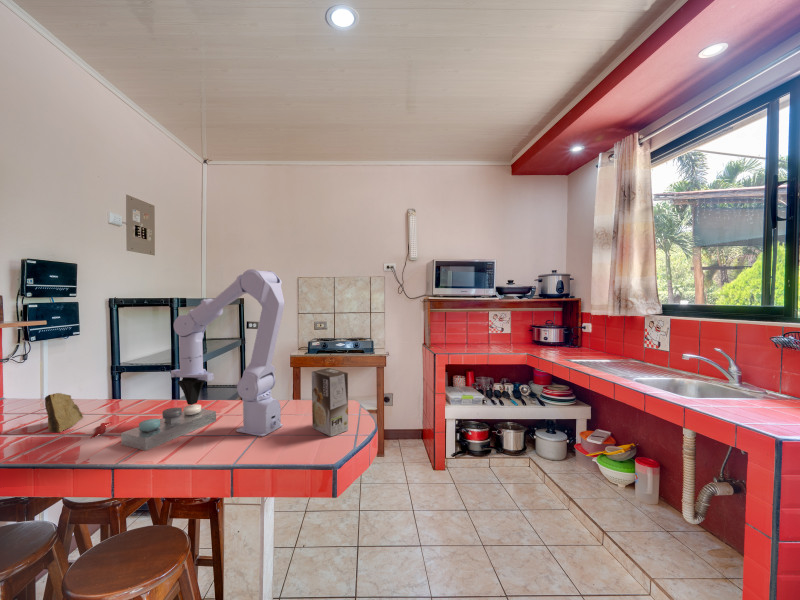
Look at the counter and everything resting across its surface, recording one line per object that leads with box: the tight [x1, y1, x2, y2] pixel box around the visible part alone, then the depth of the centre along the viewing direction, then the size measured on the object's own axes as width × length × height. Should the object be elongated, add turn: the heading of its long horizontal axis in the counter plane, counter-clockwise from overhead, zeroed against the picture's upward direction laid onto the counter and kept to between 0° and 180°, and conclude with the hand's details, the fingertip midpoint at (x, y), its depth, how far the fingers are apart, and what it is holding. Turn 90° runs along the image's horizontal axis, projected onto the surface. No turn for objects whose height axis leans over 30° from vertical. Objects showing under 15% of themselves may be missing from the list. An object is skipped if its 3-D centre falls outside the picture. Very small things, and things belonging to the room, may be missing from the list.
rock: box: [44, 392, 84, 433], centre depth 100 cm, size 11×9×10 cm
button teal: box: [138, 418, 161, 433], centre depth 89 cm, size 4×4×4 cm
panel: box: [120, 408, 217, 452], centre depth 95 cm, size 9×20×3 cm, turn 159°
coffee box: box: [311, 367, 349, 437], centre depth 97 cm, size 9×6×16 cm
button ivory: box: [182, 403, 202, 416], centre depth 100 cm, size 4×4×4 cm
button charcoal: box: [161, 407, 183, 424], centre depth 95 cm, size 4×4×4 cm
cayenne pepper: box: [90, 421, 113, 439], centre depth 96 cm, size 12×5×2 cm, turn 6°
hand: (192, 403), depth 100 cm, fingers closed
